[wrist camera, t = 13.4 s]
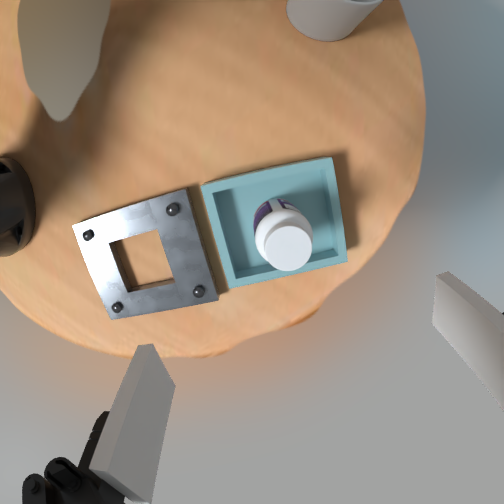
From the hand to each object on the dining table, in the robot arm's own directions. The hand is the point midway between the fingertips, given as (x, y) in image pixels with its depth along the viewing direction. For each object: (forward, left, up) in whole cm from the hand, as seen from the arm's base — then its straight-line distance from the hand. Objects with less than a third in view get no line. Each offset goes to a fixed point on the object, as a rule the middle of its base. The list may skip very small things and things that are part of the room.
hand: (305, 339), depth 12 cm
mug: (+12, +25, -23) cm, 37 cm away
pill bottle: (+1, -1, -23) cm, 22 cm away
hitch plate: (-16, -2, -23) cm, 28 cm away
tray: (+1, -1, -23) cm, 23 cm away
